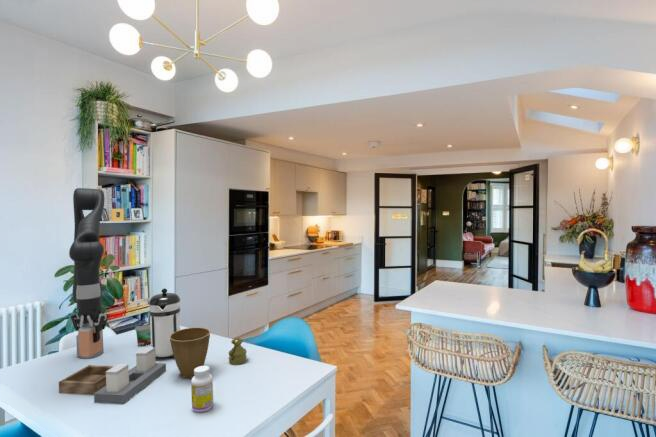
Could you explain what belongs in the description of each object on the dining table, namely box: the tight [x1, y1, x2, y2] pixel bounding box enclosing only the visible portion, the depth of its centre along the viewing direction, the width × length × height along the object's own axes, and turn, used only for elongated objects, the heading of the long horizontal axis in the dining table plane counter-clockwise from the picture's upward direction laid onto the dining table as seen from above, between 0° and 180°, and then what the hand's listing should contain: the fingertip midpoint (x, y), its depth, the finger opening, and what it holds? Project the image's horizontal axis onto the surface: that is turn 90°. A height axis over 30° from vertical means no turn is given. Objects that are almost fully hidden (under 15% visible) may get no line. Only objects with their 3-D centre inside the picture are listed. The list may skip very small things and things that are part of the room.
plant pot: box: [170, 326, 211, 379], centre depth 145 cm, size 15×15×16 cm
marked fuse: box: [79, 324, 102, 356], centre depth 137 cm, size 6×4×10 cm, turn 173°
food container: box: [134, 321, 151, 347], centre depth 180 cm, size 12×6×10 cm, turn 168°
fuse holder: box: [93, 362, 167, 405], centre depth 137 cm, size 25×11×3 cm, turn 173°
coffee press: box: [148, 288, 181, 361], centre depth 165 cm, size 17×16×30 cm
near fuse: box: [106, 363, 130, 393], centre depth 129 cm, size 6×4×10 cm, turn 173°
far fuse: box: [135, 346, 157, 372], centre depth 145 cm, size 6×4×10 cm, turn 173°
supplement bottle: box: [190, 365, 214, 413], centre depth 120 cm, size 7×7×13 cm
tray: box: [58, 364, 115, 396], centre depth 138 cm, size 14×14×4 cm
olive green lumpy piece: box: [228, 336, 248, 366], centre depth 156 cm, size 7×7×10 cm
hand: (90, 341), depth 137 cm, fingers closed on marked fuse, 4 cm apart
